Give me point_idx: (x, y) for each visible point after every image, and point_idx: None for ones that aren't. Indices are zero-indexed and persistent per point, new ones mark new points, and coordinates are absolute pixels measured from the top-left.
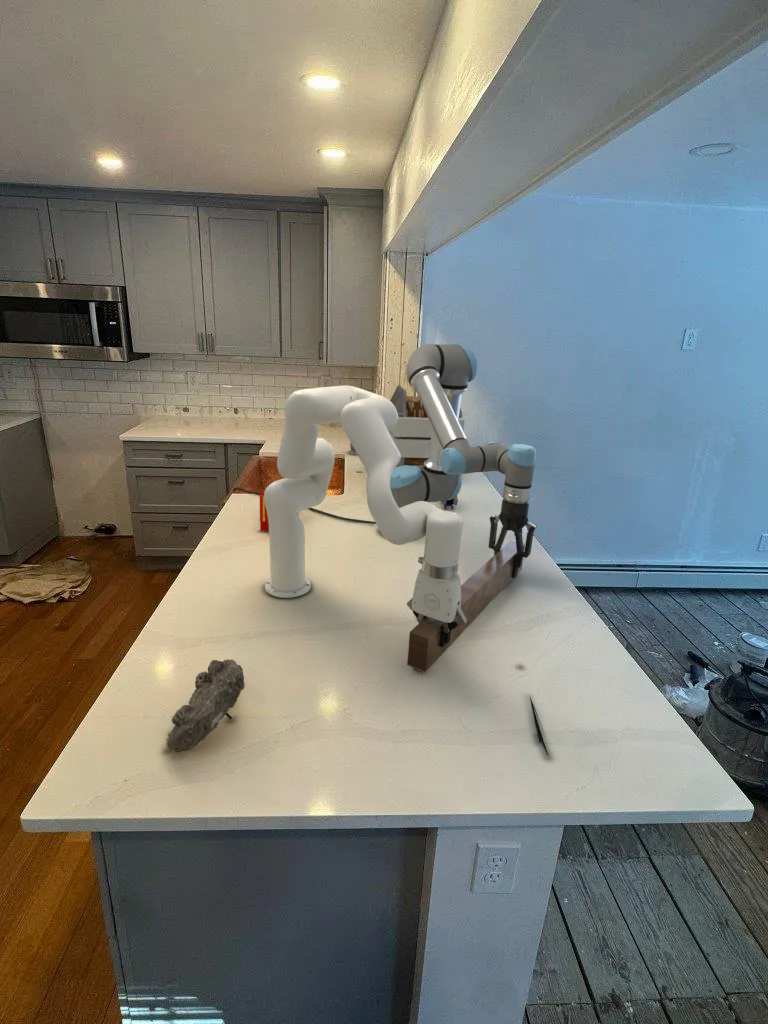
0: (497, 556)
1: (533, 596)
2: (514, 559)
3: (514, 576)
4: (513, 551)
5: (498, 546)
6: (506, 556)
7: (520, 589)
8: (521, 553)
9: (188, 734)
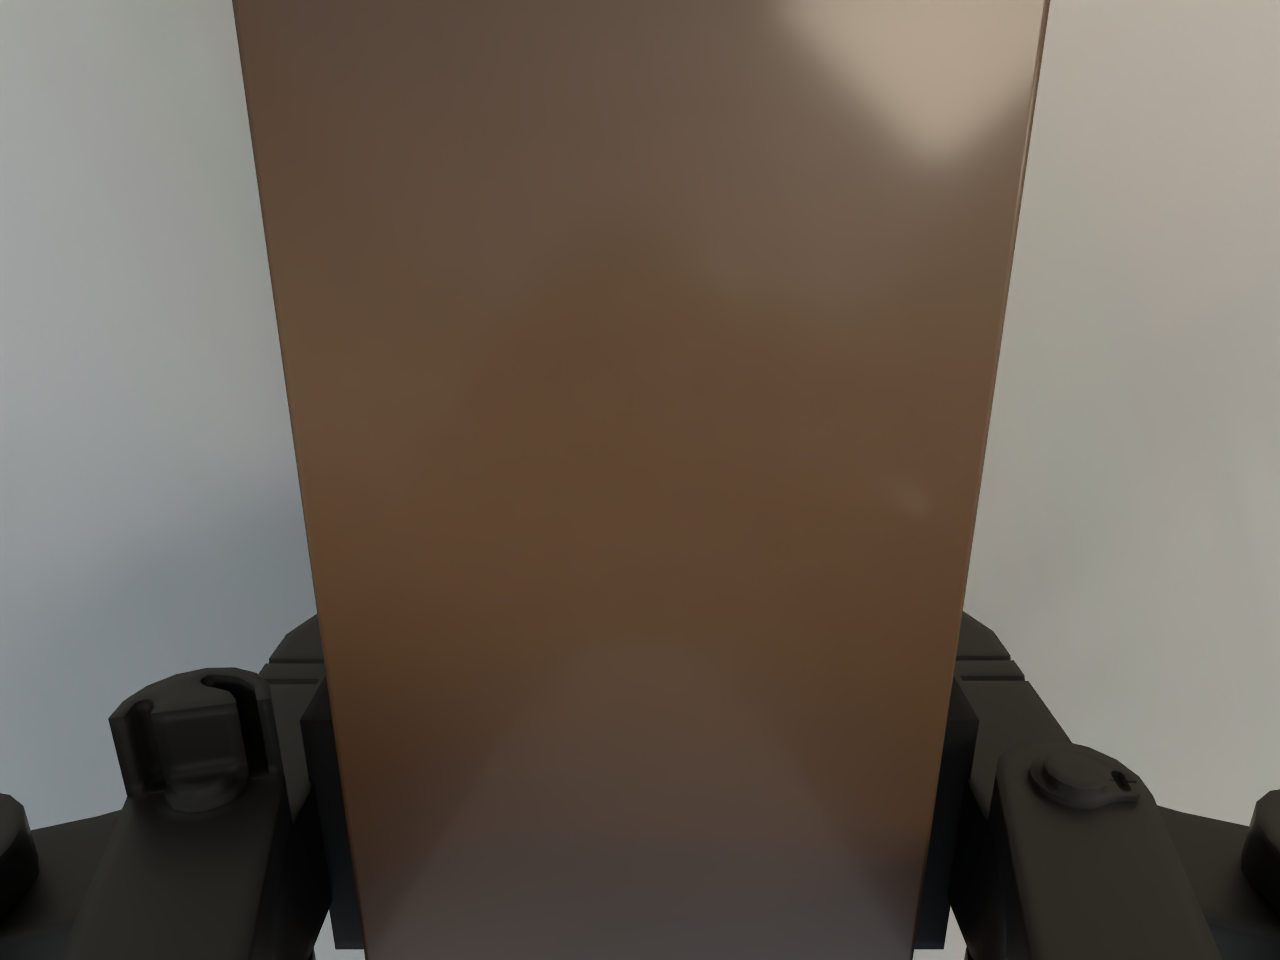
0: (848, 112)
1: (10, 218)
2: None
3: None
4: (481, 948)
5: (1068, 918)
6: (497, 384)
7: None
8: (103, 901)
9: None
